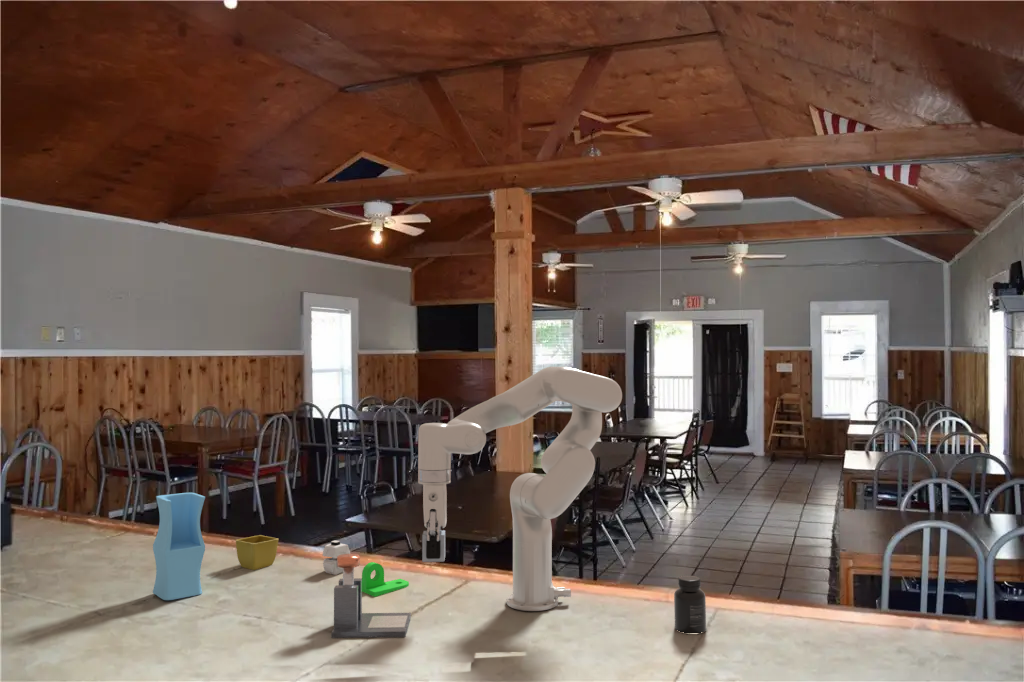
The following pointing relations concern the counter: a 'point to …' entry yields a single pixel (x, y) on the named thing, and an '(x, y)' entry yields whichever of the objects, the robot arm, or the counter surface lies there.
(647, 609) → the counter surface
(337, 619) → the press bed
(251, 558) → the flower pot
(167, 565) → the vase
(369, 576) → the mechanical part
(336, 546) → the grey blocky fitting
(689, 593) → the supplement bottle
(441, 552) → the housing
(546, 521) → the robot arm
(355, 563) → the ram
